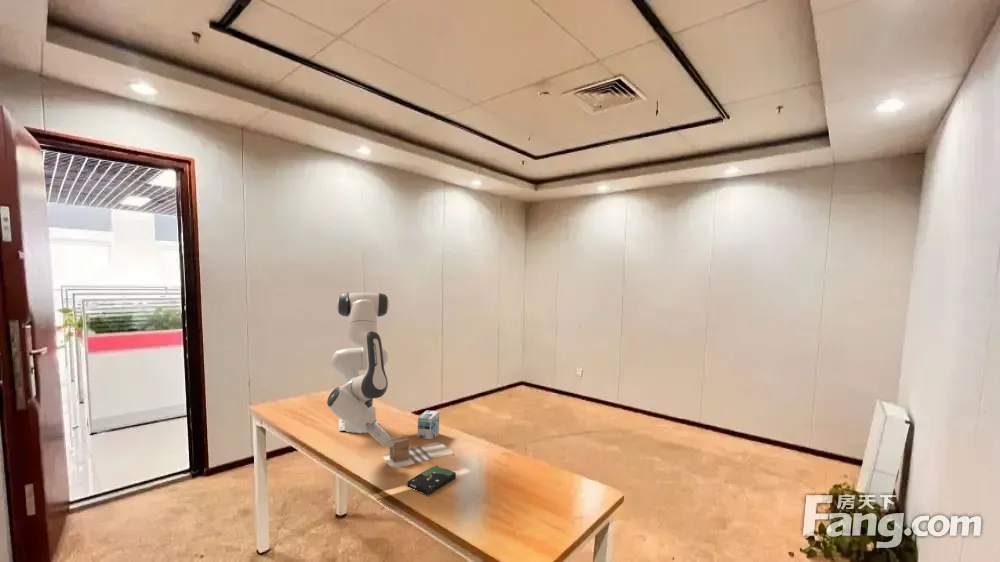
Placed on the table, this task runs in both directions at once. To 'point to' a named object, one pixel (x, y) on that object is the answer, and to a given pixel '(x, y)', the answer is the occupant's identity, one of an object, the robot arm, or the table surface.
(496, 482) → the table surface
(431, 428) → the light bulb box
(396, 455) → the block
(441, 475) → the disk drive
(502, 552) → the table surface
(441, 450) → the board
